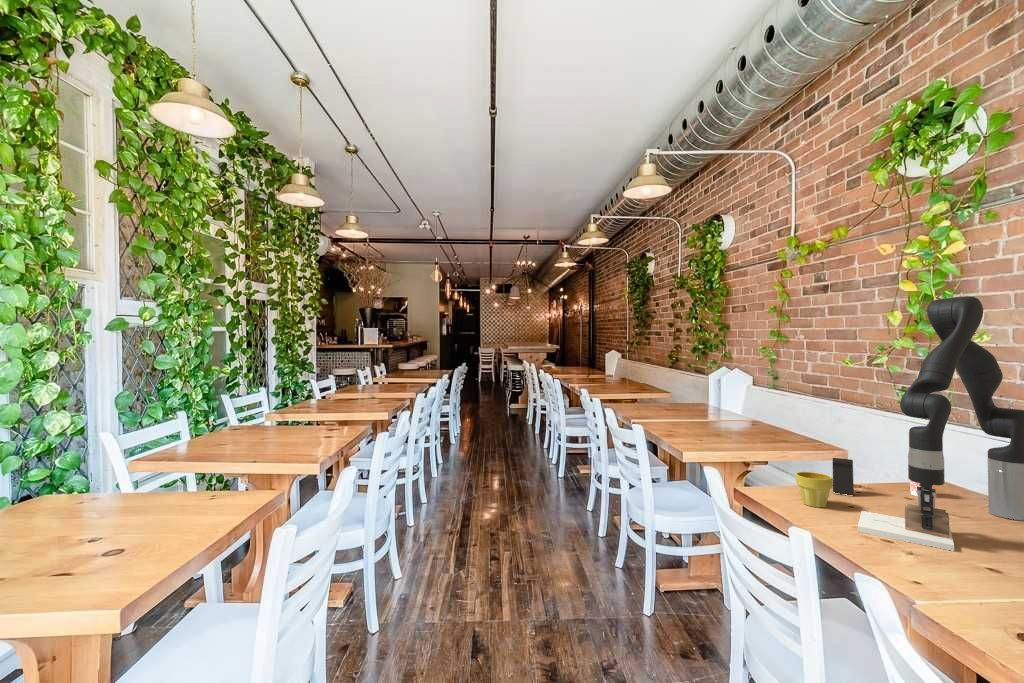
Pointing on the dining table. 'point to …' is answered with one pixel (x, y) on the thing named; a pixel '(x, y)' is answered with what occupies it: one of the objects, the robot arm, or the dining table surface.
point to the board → (900, 530)
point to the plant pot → (814, 488)
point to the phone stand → (843, 476)
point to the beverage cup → (914, 487)
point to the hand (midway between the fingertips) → (926, 525)
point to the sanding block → (938, 521)
